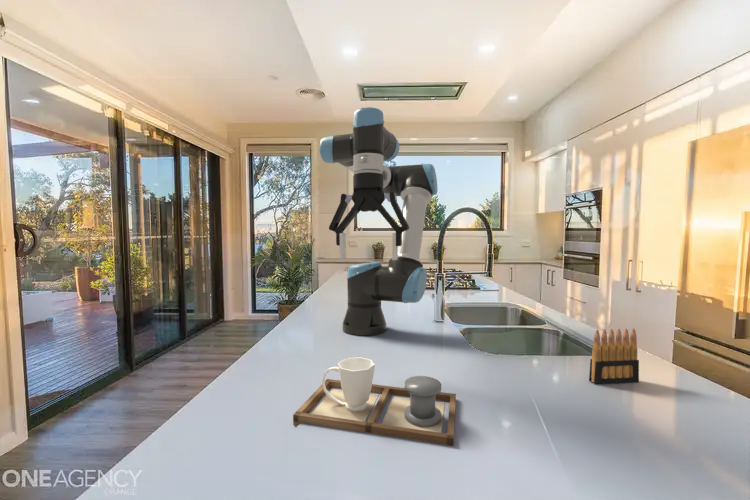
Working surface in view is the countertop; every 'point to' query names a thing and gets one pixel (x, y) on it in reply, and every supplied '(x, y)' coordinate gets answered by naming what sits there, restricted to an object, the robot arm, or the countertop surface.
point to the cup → (353, 382)
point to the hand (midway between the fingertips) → (368, 259)
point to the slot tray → (375, 414)
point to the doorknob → (422, 401)
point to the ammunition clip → (614, 358)
